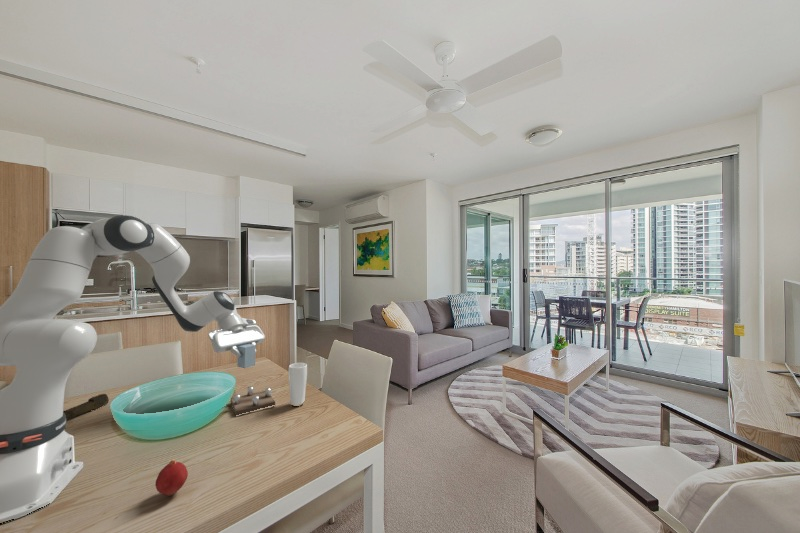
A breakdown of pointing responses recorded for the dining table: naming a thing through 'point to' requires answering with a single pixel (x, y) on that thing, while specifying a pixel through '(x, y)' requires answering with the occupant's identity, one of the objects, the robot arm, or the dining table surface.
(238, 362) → the block
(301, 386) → the drinking glass
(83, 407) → the rusty brown artillery shell
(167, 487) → the onion
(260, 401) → the peg board
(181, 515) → the dining table surface
